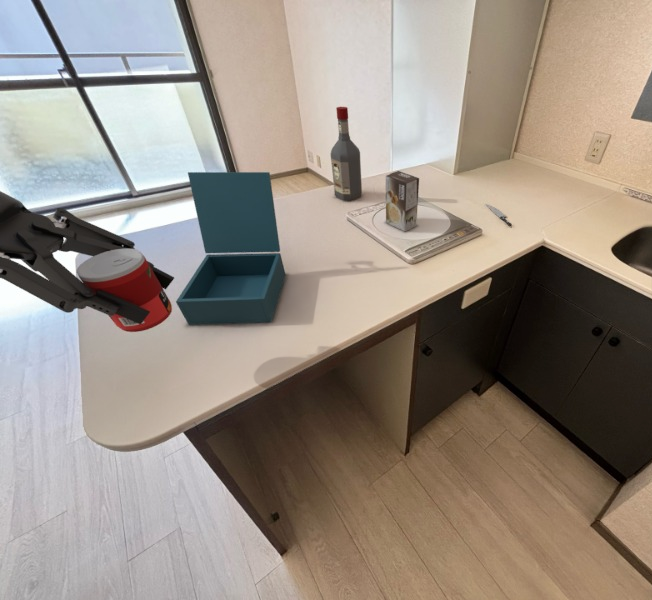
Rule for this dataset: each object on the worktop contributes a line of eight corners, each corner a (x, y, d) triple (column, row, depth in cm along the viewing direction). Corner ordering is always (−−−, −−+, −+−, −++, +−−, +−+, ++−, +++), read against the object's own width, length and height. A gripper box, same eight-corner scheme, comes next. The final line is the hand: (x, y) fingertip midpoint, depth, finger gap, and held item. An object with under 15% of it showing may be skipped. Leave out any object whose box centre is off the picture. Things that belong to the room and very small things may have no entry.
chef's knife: (491, 203, 125) (484, 204, 124) (492, 201, 124) (485, 201, 123) (516, 227, 111) (509, 227, 110) (518, 224, 110) (510, 224, 109)
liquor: (350, 189, 131) (344, 103, 111) (365, 196, 126) (361, 108, 106) (331, 195, 126) (322, 107, 106) (347, 203, 121) (339, 112, 101)
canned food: (183, 311, 55) (153, 257, 48) (133, 341, 50) (91, 285, 43) (158, 295, 58) (126, 242, 51) (108, 321, 53) (65, 266, 46)
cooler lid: (268, 172, 75) (274, 172, 79) (187, 172, 73) (197, 172, 77) (279, 251, 81) (283, 248, 86) (205, 253, 80) (213, 249, 84)
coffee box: (417, 225, 109) (420, 178, 99) (404, 232, 106) (407, 183, 95) (397, 216, 114) (398, 170, 103) (384, 222, 110) (384, 175, 100)
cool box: (271, 322, 73) (264, 298, 69) (188, 325, 72) (175, 301, 67) (285, 275, 86) (280, 253, 82) (216, 276, 85) (206, 254, 80)
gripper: (19, 193, 49) (175, 275, 61) (-136, 273, 34) (113, 362, 46) (33, 157, 46) (194, 250, 58) (-131, 226, 31) (134, 334, 43)
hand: (158, 299), depth 52 cm, fingers closed on canned food, 8 cm apart
